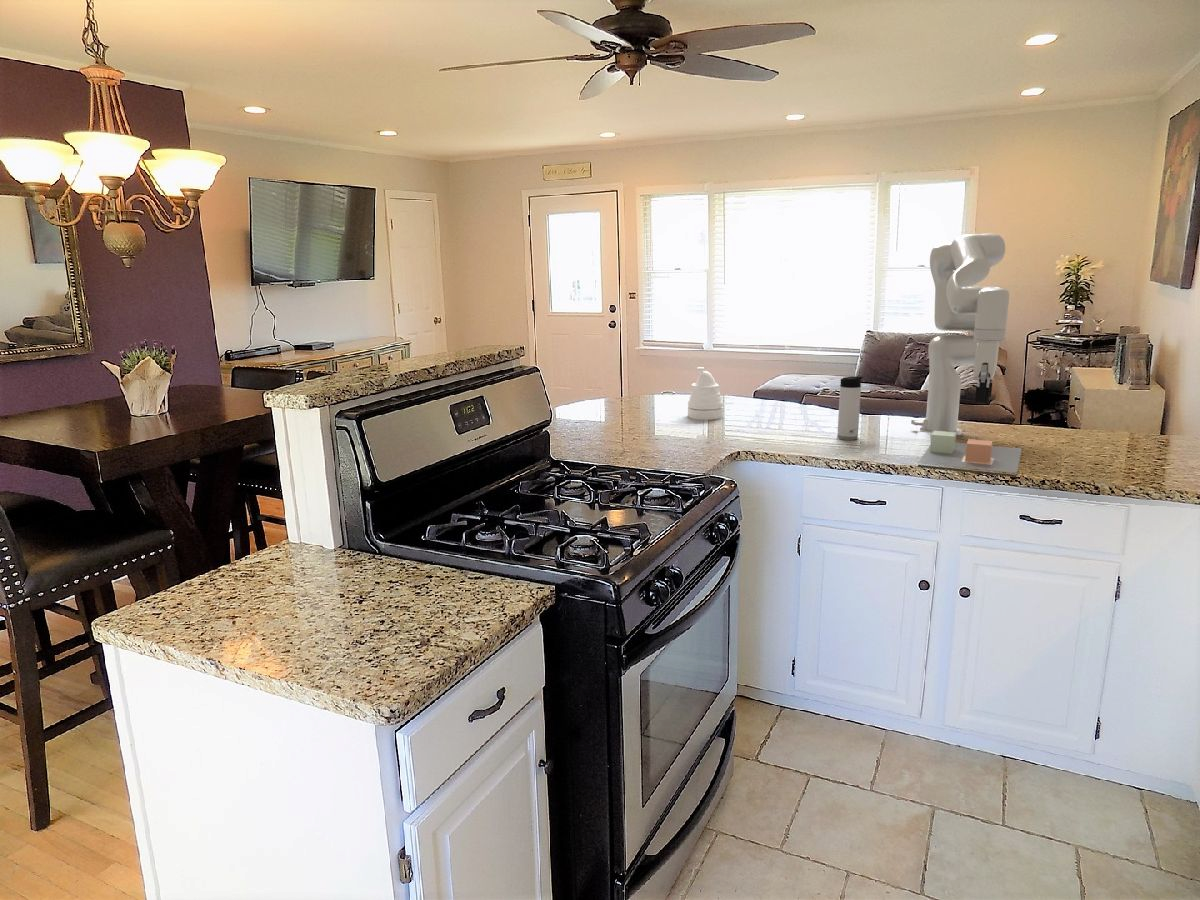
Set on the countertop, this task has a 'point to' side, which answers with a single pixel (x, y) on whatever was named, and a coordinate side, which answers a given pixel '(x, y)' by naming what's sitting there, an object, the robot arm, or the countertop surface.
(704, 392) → the honey pot
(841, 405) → the travel mug
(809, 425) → the countertop surface
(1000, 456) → the baseplate
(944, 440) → the sage brick
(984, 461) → the terracotta brick
